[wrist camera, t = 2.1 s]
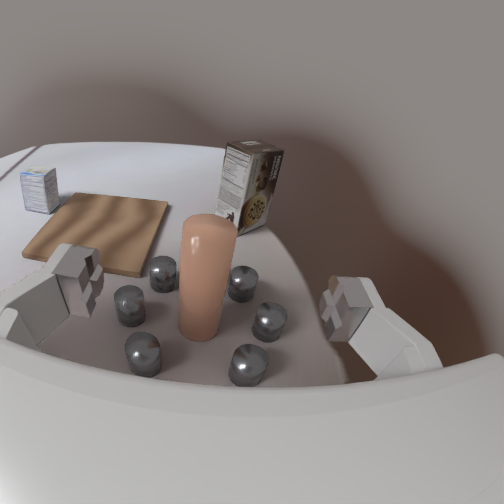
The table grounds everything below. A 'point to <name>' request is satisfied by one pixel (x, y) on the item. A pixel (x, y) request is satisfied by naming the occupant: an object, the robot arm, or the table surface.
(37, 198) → the medicine box
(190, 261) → the peach rounded cylinder
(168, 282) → the posts
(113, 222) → the walnut board
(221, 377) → the table surface
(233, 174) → the coffee box
